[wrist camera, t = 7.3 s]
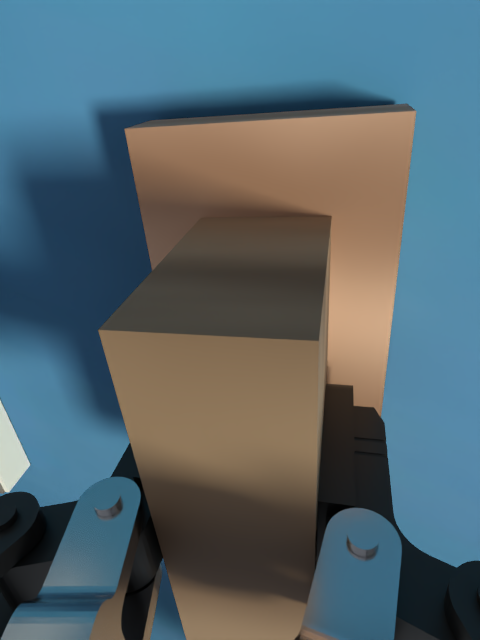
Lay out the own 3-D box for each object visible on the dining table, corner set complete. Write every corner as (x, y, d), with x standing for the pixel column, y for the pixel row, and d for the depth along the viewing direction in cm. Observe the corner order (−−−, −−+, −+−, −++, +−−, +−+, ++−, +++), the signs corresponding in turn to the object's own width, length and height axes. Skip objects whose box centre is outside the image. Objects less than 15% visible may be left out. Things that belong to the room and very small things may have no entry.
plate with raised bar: (150, 120, 11) (-53, 184, 5) (406, 103, 9) (486, 167, 4) (212, 492, 18) (152, 684, 12) (364, 513, 16) (371, 738, 11)
